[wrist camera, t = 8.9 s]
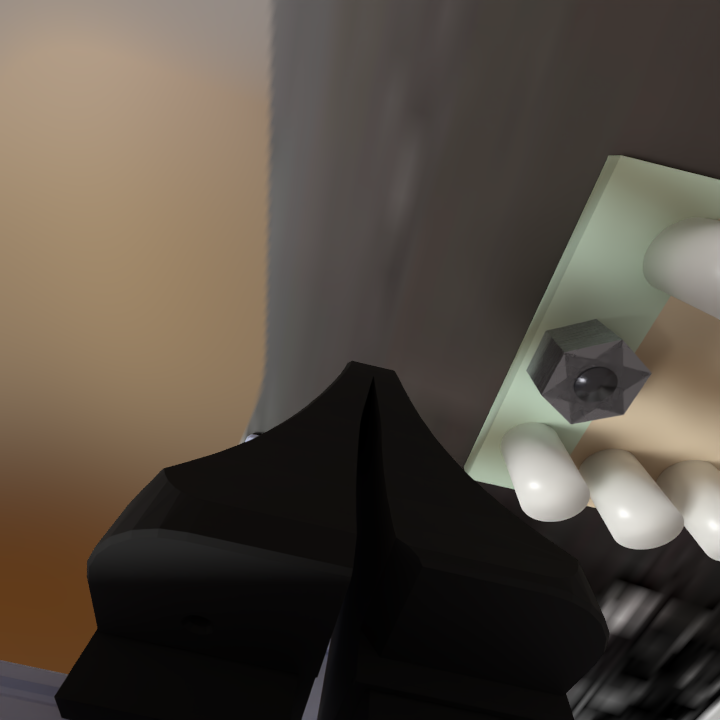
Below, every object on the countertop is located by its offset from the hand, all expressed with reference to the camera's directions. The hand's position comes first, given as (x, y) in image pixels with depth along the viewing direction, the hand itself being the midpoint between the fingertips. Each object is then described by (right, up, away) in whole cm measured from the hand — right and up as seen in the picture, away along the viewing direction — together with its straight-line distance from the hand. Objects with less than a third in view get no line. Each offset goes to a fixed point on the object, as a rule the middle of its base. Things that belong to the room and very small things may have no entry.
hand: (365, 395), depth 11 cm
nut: (+11, +1, +8) cm, 14 cm away
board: (+15, 0, +10) cm, 18 cm away
